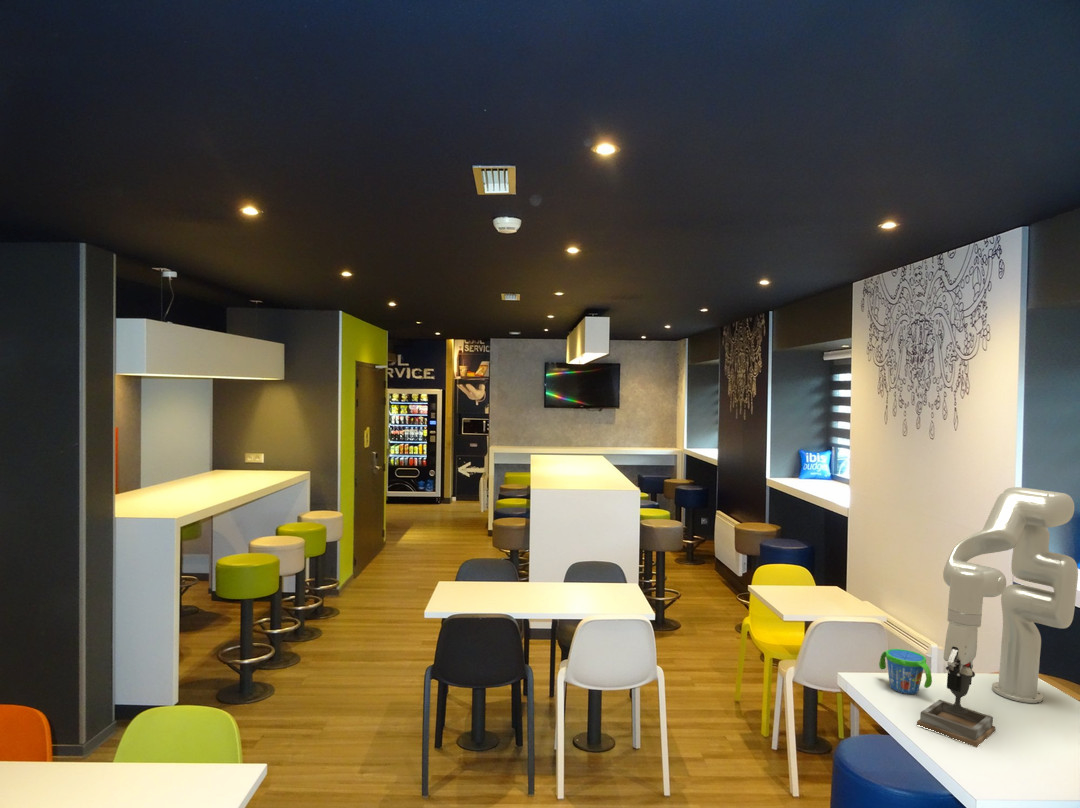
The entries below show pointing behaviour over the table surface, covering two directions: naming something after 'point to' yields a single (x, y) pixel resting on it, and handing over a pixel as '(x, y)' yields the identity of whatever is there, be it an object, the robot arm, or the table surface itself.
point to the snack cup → (905, 670)
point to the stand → (957, 723)
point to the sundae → (966, 679)
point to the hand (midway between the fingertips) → (959, 686)
